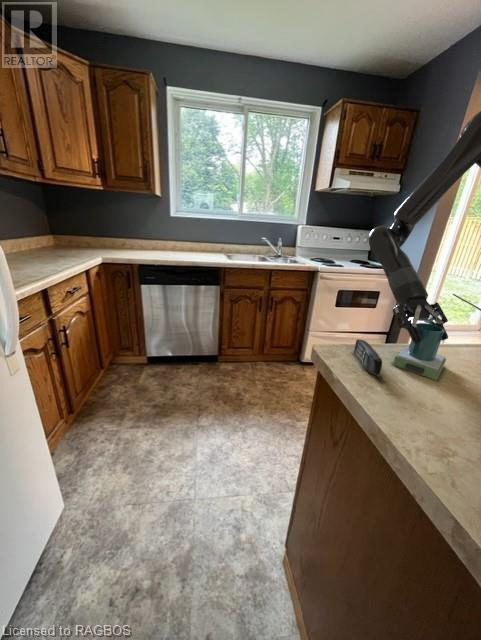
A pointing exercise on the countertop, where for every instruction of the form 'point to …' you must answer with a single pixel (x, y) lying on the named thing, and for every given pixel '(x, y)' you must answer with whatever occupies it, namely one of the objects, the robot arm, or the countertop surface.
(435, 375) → the kitchen scale
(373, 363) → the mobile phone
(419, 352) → the teal cup
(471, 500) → the countertop surface
